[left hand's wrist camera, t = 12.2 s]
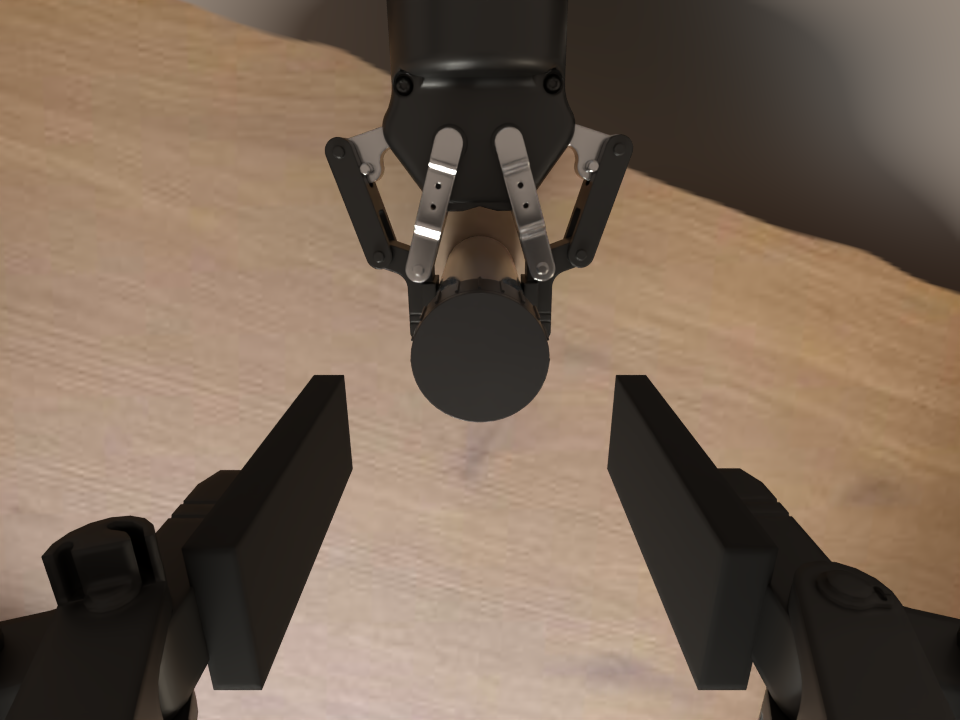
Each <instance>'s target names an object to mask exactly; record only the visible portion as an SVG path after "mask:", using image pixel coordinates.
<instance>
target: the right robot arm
mask: <svg viewBox="0 0 960 720" xmlns="http://www.w3.org/2000/svg"><path fill="white" fill-rule="evenodd" d="M567 13H568V0H387V14H388V30H389V47H390V64H391V80H392V94H391V100H390V104H389V107H388V109H387V111H386V114H385V116H384V119H383V124H382V127H379V128H376V129H374V130H371V131H368V132H365V133H362V134H360V135H357V136H354V137H351V138H341V137H334V138H332V139H330V140H329V141H328V142H327V144H326V147H325V155H326V158H327V160H328V163H329V165H330V168H331V170H332V173H333V175H334V178H335V180H336V183H337V185H338V188H339V191H340V193H341V196H342V198H343V201H344V203H345V206H346V208H347V211H348V213H349V216H350V219H351V221H352V224H353V226H354V229H355V231H356V234H357V236H358V239H359V241H360V244H361V246H362V249H363V252H364V254H365V257H366V259H367V261H368V263H369V265H370V266H372V267H373V268H375V269H386V270H389V271H392V272H395V273H397V274H399V275H401V276H402V277H403V278H404V279H405V281H406V283H407V286H408V298H409V314H410V334H411V336H413V333H414V331H415V328H416V325H419V323H420V320H419V319H420V316H421V314H422V311H423V308H424V306H428V304H429V303H430V302H431V300H432V299H433V298H434V297H435V296H436V293H437V290H438V287H439V275H435V267H434V265H435V261H436V257H437V253H438V249H439V246H440V242H441V238H442V234H443V230H444V227H445V223H446V220H447V216H448V212H449V211H465V210H468V209H471V208H475V207H479V206H481V207H485V208H489V209H492V210H496V211H511V213H512V216H513V220H514V223H515V226H516V230H517V233H518V236H519V240H520V244H521V247H522V251H523V254H524V258H525V274H521V286H522V289H523V292H524V295H525V297H526V298H527V299H528V300H529V302H530V303H531V304H532V305H533V306H534V305H535V306H536V308H537V311H538V313H539V316H540V319H541V320H540V322H541V324H543V325H544V327H545V330H546V332H547V335H548V338H549V335H550V333H551V303H552V284H553V281H554V279H555V277H556V276H557V275H558V274H560V273H561V272H563V271H566V270H569V269H572V268H574V267H578V268H583V267H586V266H588V265H589V264H590V263H591V262H592V260H593V258H594V255H595V253H596V250H597V247H598V245H599V242H600V239H601V236H602V234H603V231H604V228H605V226H606V223H607V220H608V217H609V215H610V212H611V209H612V207H613V204H614V201H615V198H616V196H617V193H618V190H619V188H620V185H621V182H622V179H623V177H624V174H625V171H626V169H627V166H628V163H629V160H630V158H631V155H632V152H633V144H632V141H631V140H630V139H629V137H627V136H625V135H622V134H619V135H618V134H615V135H607V134H604V133H601V132H598V131H595V130H592V129H589V128H586V127H583V126H580V125H577V124H575V119H574V115H573V113H572V111H571V109H570V107H569V104H568V101H567V98H566V93H565V66H566V40H567ZM567 147H570V148H571V149H572V150H573V152H574V154H575V164H574V170H575V173H576V174H577V176H578V177H580V178H582V179H584V180H583V183H582V186H581V189H580V192H579V195H578V198H577V201H576V204H575V206H574V209H573V212H572V215H571V218H570V221H569V224H568V227H567V230H566V233H565V235H564V238H563V239H562V240H560V241H557V242H554V243H552V244H549V240H548V237H547V233H546V227H545V222H544V218H543V214H542V210H541V207H540V203H539V199H538V195H537V191H536V190H537V189H538V187H539V186H540V185H541V183H542V182H543V180H544V179H545V178H546V176H547V175H548V173H549V172H550V171H551V169H552V168H553V166H554V165H555V164H556V162H557V161H558V159H559V158H560V157H561V155H562V154H563V152H564V151H565V150H566V148H567ZM389 149H391V150H392V151H393V153H394V154H395V155H396V157H397V158H398V159H399V161H400V162H401V163H402V165H403V166H404V168H405V169H406V170H407V172H408V173H409V174H410V176H411V177H412V178H413V180H414V181H415V182H416V184H417V185H418V186H419V188H420V189H421V190H422V197H421V201H420V205H419V209H418V213H417V218H416V222H415V227H414V234H413V238H412V242H411V246H409V245H406V244H404V243H401V242H398V241H397V240H396V237H395V234H394V231H393V229H392V226H391V223H390V221H389V218H388V215H387V213H386V210H385V207H384V204H383V202H382V199H381V196H380V194H379V191H378V188H377V186H376V183H375V182H376V181H378V180H380V179H381V178H382V176H383V174H384V164H383V158H384V155H385V153H386V152H387V151H388V150H389Z"/></svg>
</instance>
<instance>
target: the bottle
mask: <svg viewBox="0 0 960 720" xmlns="http://www.w3.org/2000/svg"><path fill="white" fill-rule="evenodd" d="M478 277H481V278H484V279H492V280H496V281H500V280H503V283H505V284H508V285H510V286H511V287H513V288H515V289H516V290H518V291H519V290H521V291H522V293H523V295H524V292H523V289H522V286H521V283H520V280H519V277H518V274H517V271H516V268H515V264H514V261H513V258H512V256H511V254H510V252H509V251H508V249H507V248H506V247H505V246H504V245H503V244H502V243H500V242H499V241H497V240H495V239H493V238H491V237H487V236H474V237H470V238H467V239H465V240H463V241H461V242H460V243H459V244H457V245H456V246H455V247H454V248H453V250H452V251H451V253H450V254H449V256H448V259H447V262H446V265H445V268H444V271H443V274H442V277H441V280H440V284H439V287H438V290H437V292H438V291H439V290H440V291H442V290H444V289H445V288H447V287H449V286H450V285H453V284H455V283H456V281H457V280H460V281H464V280H468V279H478ZM436 295H437V293H436ZM524 296H525V295H524Z"/></svg>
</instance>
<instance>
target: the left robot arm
mask: <svg viewBox="0 0 960 720" xmlns="http://www.w3.org/2000/svg"><path fill="white" fill-rule="evenodd" d="M352 469H353V467H352V456H351V445H350V434H349V424H348V413H347V402H346V391H345V380H344V375H314V376H313V377H312V378H311V380H310V381H309V382H308V384H307V385H306V386H305V388H304V389H303V390H302V392H301V393H300V394H299V395H298V397H297V398H296V399H295V401H294V402H293V403H292V405H291V406H290V407H289V408H288V410H287V411H286V412H285V414H284V415H283V416H282V418H281V419H280V420H279V422H278V423H277V424H276V425H275V427H274V428H273V429H272V431H271V432H270V433H269V435H268V436H267V437H266V438H265V440H264V441H263V442H262V444H261V445H260V446H259V448H258V449H257V450H256V452H255V453H254V454H253V455H252V457H251V458H250V459H249V461H248V462H247V463H246V465H245V466H244V467H243V468H242V470H220V471H218V472H217V473H215V474H214V475H212V476H210V477H209V478H207V479H206V480H204V481H203V482H201V483H199V484H198V485H197V486H196V487H195V488H194V490H193V491H192V492H191V493H190V494H189V495H188V496H187V498H186V499H185V500H184V503H183V504H181V505H180V506H179V507H178V508H177V509H176V510H175V511H174V513H173V514H172V517H171V518H168V520H167V521H166V522H165V523H164V524H163V525H162V526H161V528H160V529H159V530H158V531H157V532H156V533H155V529H154V525H153V524H152V523H150V522H149V521H148V520H147V519H145V518H141V517H135V516H121V517H111V518H107V519H104V520H100V521H96V522H92V523H89V524H87V525H85V526H83V527H80V528H78V529H76V530H74V531H72V532H69V533H68V534H66V535H65V536H64V537H62V538H61V539H59V540H58V541H56V542H55V543H53V544H52V545H51V546H50V547H49V549H48V550H47V551H46V552H45V553H44V554H43V555H42V560H43V563H44V566H45V569H46V572H47V575H48V578H49V581H50V584H51V587H52V590H53V593H54V595H55V598H56V601H57V604H58V606H57V609H54V610H51V611H46V612H42V613H37V614H33V615H28V616H24V617H19V618H15V619H10V620H6V621H1V622H0V720H197V717H198V707H197V700H196V695H195V691H194V688H195V686H196V684H197V682H198V681H199V679H200V677H201V675H202V673H203V671H204V669H205V668H206V666H207V664H208V667H209V671H210V676H211V680H212V684H213V689H214V690H262V688H263V686H264V683H265V681H266V679H267V676H268V674H269V671H270V669H271V666H272V664H273V662H274V659H275V657H276V654H277V652H278V649H279V647H280V644H281V642H282V640H283V637H284V635H285V632H286V630H287V627H288V625H289V623H290V620H291V618H292V615H293V613H294V610H295V608H296V606H297V603H298V601H299V598H300V596H301V593H302V591H303V588H304V586H305V584H306V581H307V579H308V576H309V574H310V571H311V569H312V567H313V564H314V562H315V559H316V557H317V554H318V552H319V550H320V547H321V545H322V542H323V540H324V537H325V535H326V532H327V530H328V528H329V525H330V523H331V520H332V518H333V515H334V513H335V511H336V508H337V506H338V503H339V501H340V498H341V496H342V494H343V491H344V489H345V486H346V484H347V481H348V479H349V476H350V474H351V472H352ZM607 469H608V472H609V474H610V477H611V479H612V481H613V484H614V486H615V489H616V491H617V494H618V496H619V498H620V501H621V503H622V506H623V508H624V511H625V513H626V515H627V518H628V520H629V523H630V525H631V528H632V530H633V533H634V535H635V537H636V540H637V542H638V545H639V547H640V550H641V552H642V554H643V557H644V559H645V562H646V564H647V567H648V569H649V571H650V574H651V576H652V579H653V581H654V584H655V586H656V588H657V591H658V593H659V596H660V598H661V601H662V603H663V606H664V608H665V610H666V613H667V615H668V618H669V620H670V623H671V625H672V627H673V630H674V632H675V635H676V637H677V640H678V642H679V644H680V647H681V649H682V652H683V654H684V657H685V659H686V662H687V664H688V666H689V669H690V671H691V674H692V676H693V679H694V681H695V683H696V686H697V688H698V690H746V689H747V684H748V680H749V676H750V671H751V667H752V663H754V665H755V667H756V668H757V670H758V672H759V674H760V676H761V678H762V679H763V681H764V683H765V685H766V691H765V695H764V699H763V704H762V708H761V712H760V716H759V720H960V619H957V618H952V617H948V616H943V615H939V614H934V613H930V612H925V611H920V610H916V609H911V608H908V607H904V606H903V605H902V604H901V603H900V601H899V600H898V598H897V597H896V596H895V594H894V593H893V592H892V591H891V590H890V589H889V588H887V587H886V586H885V585H884V584H882V583H881V582H880V581H878V580H877V579H876V578H874V577H872V576H870V575H868V574H866V573H864V572H862V571H860V570H858V569H856V568H853V567H850V566H847V565H843V564H840V563H837V562H831V561H830V559H829V558H828V557H827V556H826V555H825V554H824V553H823V551H822V550H821V549H820V548H819V547H818V546H817V545H816V543H815V542H814V541H813V540H812V539H811V538H810V537H809V535H808V534H807V533H806V532H805V531H804V530H803V529H802V527H801V526H800V525H799V524H798V523H797V522H796V520H795V519H794V518H793V517H792V516H789V512H788V511H787V510H786V509H785V508H784V507H783V506H782V504H781V503H780V502H777V499H776V498H775V496H774V495H773V494H772V493H771V492H770V491H769V490H768V488H767V487H766V486H765V485H764V484H763V483H762V482H761V481H759V480H758V479H756V478H754V477H753V476H751V475H750V474H748V473H746V472H745V471H743V470H742V469H740V468H717V467H716V466H715V465H714V463H713V462H712V461H711V459H710V458H709V457H708V455H707V454H706V453H705V452H704V450H703V449H702V448H701V446H700V445H699V444H698V442H697V441H696V440H695V438H694V437H693V436H692V435H691V433H690V432H689V431H688V429H687V428H686V427H685V425H684V424H683V423H682V422H681V420H680V419H679V418H678V416H677V415H676V414H675V412H674V411H673V410H672V408H671V407H670V406H669V405H668V403H667V402H666V401H665V399H664V398H663V397H662V395H661V394H660V393H659V392H658V390H657V389H656V388H655V386H654V385H653V384H652V382H651V381H650V380H649V378H648V377H647V376H646V375H616V380H615V391H614V402H613V413H612V424H611V434H610V445H609V456H608V467H607Z"/></svg>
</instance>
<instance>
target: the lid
mask: <svg viewBox="0 0 960 720" xmlns="http://www.w3.org/2000/svg"><path fill="white" fill-rule="evenodd" d="M419 320H420V323H419V325H416V328H415V331H414V333H413V336H412V339H411V341H413V343H412V348H411V366H412V371H413V375H414V378H415V381H416V383H417V385H418V387H419V389H420V390H421V392H422V393H423V395H424V396H425V397H426V398H427V399H428V400H429V402H430V403H431V404H433V405H434V406H435V407H436V408H437V409H439V410H441V411H442V412H444V413H445V414H447V415H449V416H452V417H454V418H457V419H460V420H464V421H469V422H490V421H496V420H500V419H503V418H506V417H509V416H511V415H513V414H515V413H517V412H518V411H520V410H521V409H523V408H524V407H525V406H526V405H528V404H529V403H530V402H531V401H532V400H533V399H534V397H535V396H536V395H537V394H538V392H539V391H540V389H541V387H542V385H543V383H544V381H545V379H546V376H547V372H548V367H549V362H550V358H549V346H548V342H547V341H548V340H549V338H548V335H547V332H546V330H545V327H544V325H543V324H541V322H540V320H541V319H540V316H539V313H538V311H537V308H536V306H535V305H534V306H533V305H532V304H531V303H530V302H529V300H528V299H527V298H526V297H525V296H524V295H523V293H522V291H521V290H519V291H518V290H516V289H515V288H513V287H511V286H510V285H508V284H505V283H503V280H500V281H496V280H492V279H484V278H481V277H478V279H468V280H464V281H460V280H457V281H456V283H455V284H453V285H450V286H449V287H447V288H445V289H444V290H442V291H440V290H439V291H438V292H437V295H436V296H435V297H434V298H433V299H432V300H431V302H430V303H429V304H428V306H424V308H423V311H422V314H421V316H420V319H419Z"/></svg>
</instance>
